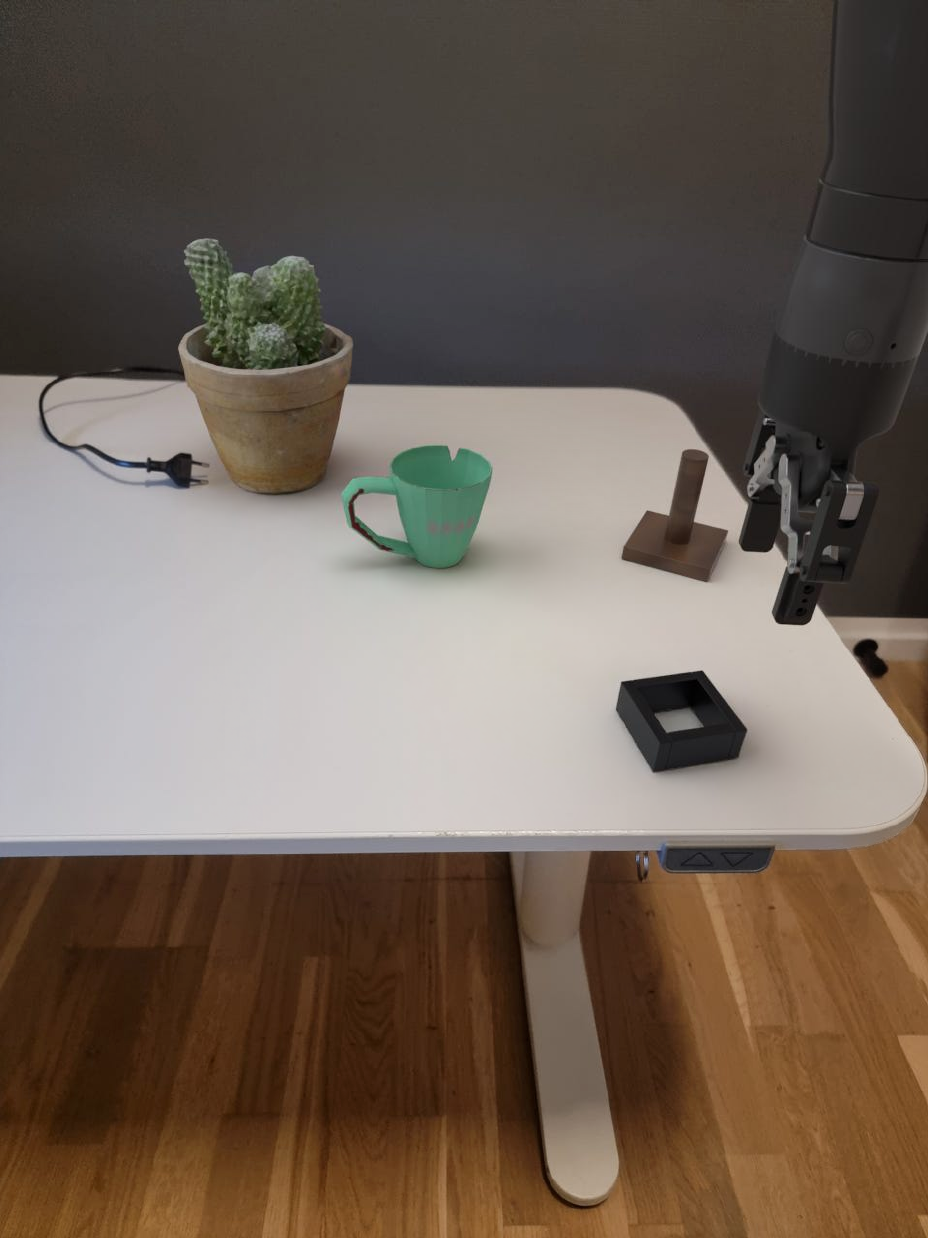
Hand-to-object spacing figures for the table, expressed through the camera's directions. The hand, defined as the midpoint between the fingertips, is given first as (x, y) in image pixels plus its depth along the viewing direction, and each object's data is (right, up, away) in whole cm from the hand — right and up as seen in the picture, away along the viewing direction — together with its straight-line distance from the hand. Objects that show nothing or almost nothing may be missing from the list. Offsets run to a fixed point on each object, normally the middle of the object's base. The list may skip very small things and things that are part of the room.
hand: (770, 583), depth 56 cm
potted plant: (-42, +15, +46) cm, 64 cm away
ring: (-3, -11, +12) cm, 17 cm away
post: (+2, +5, +35) cm, 36 cm away
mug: (-25, +4, +31) cm, 40 cm away
